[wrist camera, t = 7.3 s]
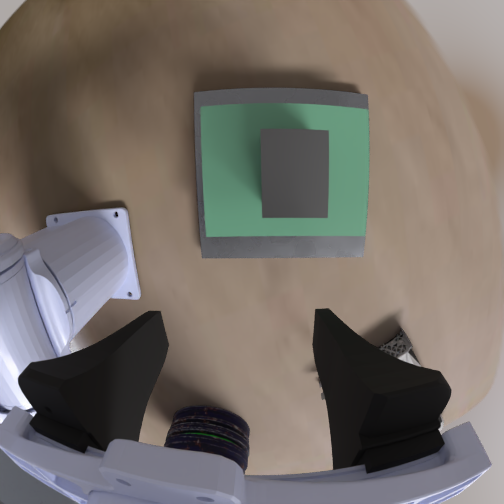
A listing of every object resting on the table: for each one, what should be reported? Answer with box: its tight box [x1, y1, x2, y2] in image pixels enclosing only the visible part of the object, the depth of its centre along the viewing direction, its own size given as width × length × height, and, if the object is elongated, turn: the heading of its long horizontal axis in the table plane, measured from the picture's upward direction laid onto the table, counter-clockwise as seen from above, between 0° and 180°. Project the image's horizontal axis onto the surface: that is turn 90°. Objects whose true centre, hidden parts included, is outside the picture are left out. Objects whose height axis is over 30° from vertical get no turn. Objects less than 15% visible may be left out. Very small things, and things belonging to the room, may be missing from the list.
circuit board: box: [200, 103, 369, 237], centre depth 14 cm, size 10×8×5 cm
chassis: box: [194, 88, 369, 258], centre depth 18 cm, size 12×12×2 cm
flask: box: [0, 424, 80, 504], centre depth 17 cm, size 17×5×25 cm, turn 39°
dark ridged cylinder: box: [164, 406, 250, 475], centre depth 22 cm, size 10×10×15 cm
